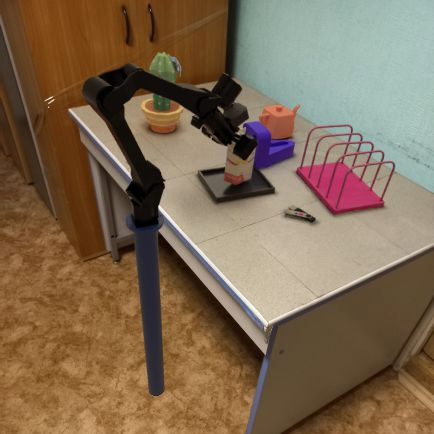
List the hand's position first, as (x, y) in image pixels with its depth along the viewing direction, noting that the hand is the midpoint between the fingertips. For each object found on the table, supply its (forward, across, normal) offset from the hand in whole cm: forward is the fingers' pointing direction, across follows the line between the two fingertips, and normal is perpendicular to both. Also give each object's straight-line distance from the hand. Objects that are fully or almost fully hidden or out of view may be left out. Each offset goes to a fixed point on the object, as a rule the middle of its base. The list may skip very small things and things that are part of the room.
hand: (241, 151), depth 125 cm
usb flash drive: (+10, -24, +6) cm, 26 cm away
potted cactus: (+9, +45, +7) cm, 46 cm away
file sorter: (+25, -20, -10) cm, 34 cm away
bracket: (+22, +7, -7) cm, 24 cm away
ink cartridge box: (+6, -1, +7) cm, 9 cm away
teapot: (+32, +19, -18) cm, 41 cm away
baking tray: (+7, 0, +8) cm, 11 cm away
